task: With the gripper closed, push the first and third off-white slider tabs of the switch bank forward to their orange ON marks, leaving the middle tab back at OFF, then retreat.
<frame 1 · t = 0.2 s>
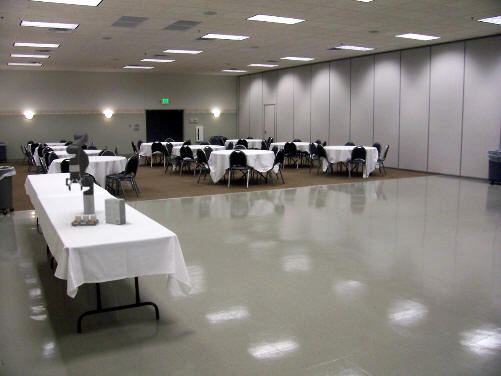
hand: (75, 190, 391), 28 cm above the table, fingers open, 8 cm apart
tab A: (78, 218, 400), point 4 cm above the table, slide at 0.0 cm
hard drive box: (115, 223, 402), on the table
tab B: (85, 218, 400), point 4 cm above the table, slide at 0.0 cm
tab C: (93, 218, 401), point 4 cm above the table, slide at 0.0 cm
switch bank: (85, 224, 398), on the table
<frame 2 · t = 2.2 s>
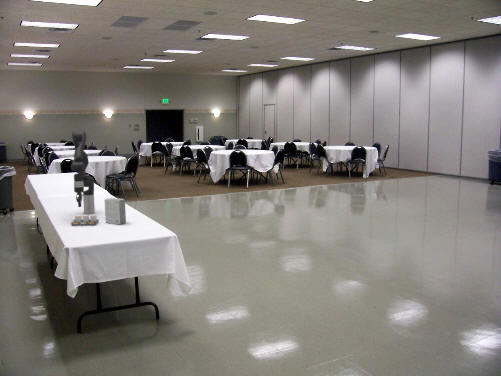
hand: (79, 206, 406), 12 cm above the table, fingers closed
nothing on the table moved.
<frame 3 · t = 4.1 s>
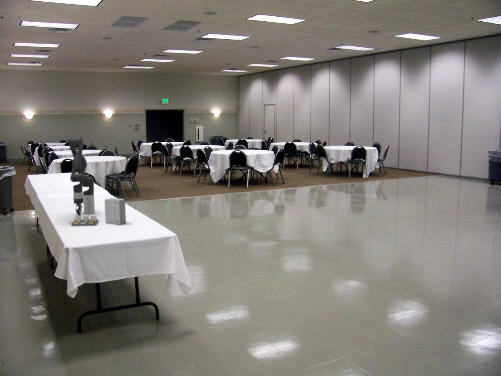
hand: (79, 218, 403), 4 cm above the table, fingers closed
tab A: (78, 218, 399), point 4 cm above the table, slide at 0.9 cm, touching gripper
everything else where it was.
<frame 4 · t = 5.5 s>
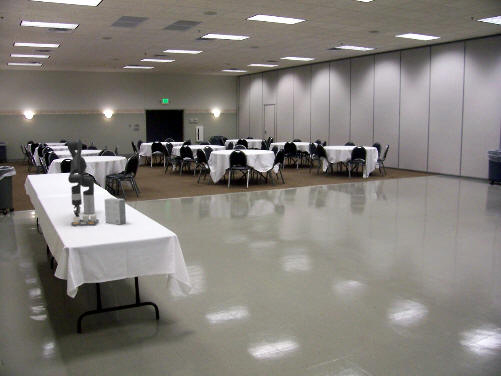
hand: (77, 219, 398), 4 cm above the table, fingers closed
tab A: (76, 220, 393), point 4 cm above the table, slide at 6.5 cm, touching gripper, switch bank
everything else where it was.
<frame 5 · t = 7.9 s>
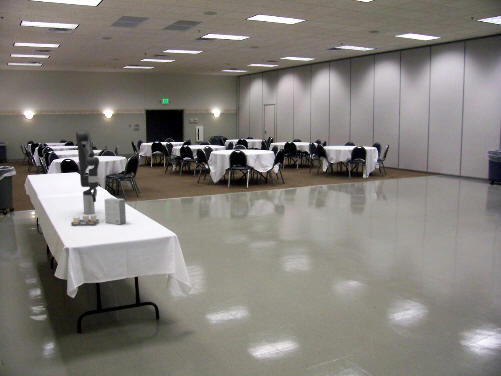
hand: (94, 201, 406), 16 cm above the table, fingers closed
tab A: (76, 220, 393), point 4 cm above the table, slide at 6.5 cm
everything else where it was.
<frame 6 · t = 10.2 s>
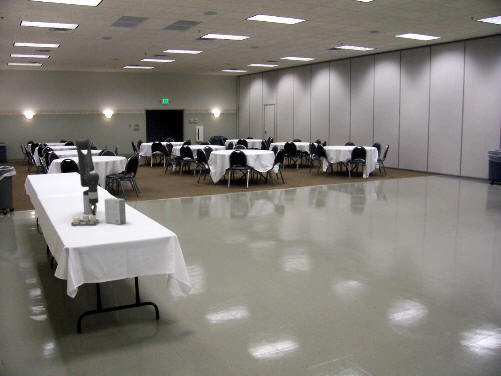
hand: (94, 217, 404), 4 cm above the table, fingers closed
tab C: (93, 218, 400), point 4 cm above the table, slide at 1.0 cm, touching gripper
everything else where it was.
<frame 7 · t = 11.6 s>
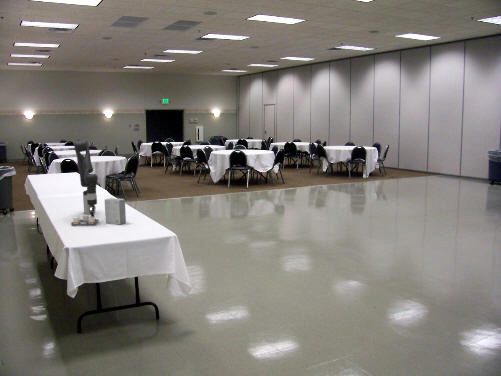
hand: (93, 219, 399), 4 cm above the table, fingers closed
tab C: (91, 219, 394), point 4 cm above the table, slide at 6.5 cm, touching gripper, switch bank
everything else where it was.
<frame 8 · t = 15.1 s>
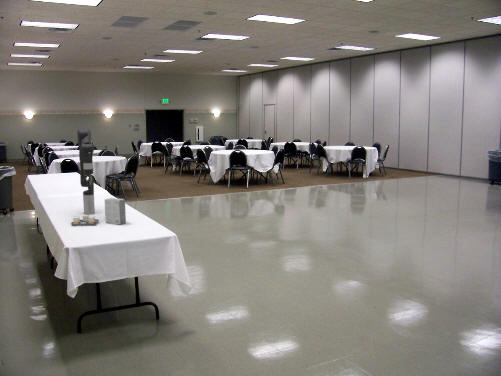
hand: (89, 189, 406), 27 cm above the table, fingers closed
tab C: (91, 219, 394), point 4 cm above the table, slide at 6.5 cm, touching switch bank
everything else where it was.
at the end: tab A slide at 6.5 cm; tab C slide at 6.5 cm; tab B slide at 0.0 cm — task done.
